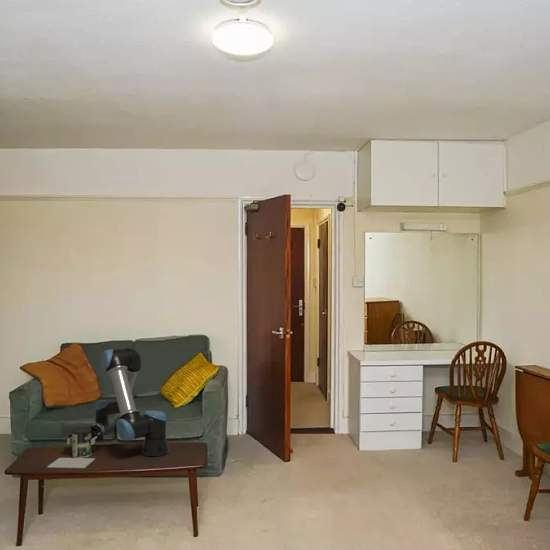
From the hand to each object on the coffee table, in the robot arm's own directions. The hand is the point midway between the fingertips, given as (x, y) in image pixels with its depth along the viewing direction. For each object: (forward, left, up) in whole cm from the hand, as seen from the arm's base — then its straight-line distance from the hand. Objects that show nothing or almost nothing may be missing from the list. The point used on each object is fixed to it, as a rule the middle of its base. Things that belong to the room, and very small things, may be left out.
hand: (79, 442), depth 291 cm
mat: (0, +11, -8) cm, 13 cm away
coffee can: (0, -2, -8) cm, 9 cm away
